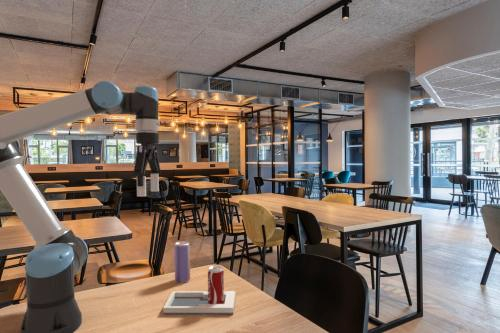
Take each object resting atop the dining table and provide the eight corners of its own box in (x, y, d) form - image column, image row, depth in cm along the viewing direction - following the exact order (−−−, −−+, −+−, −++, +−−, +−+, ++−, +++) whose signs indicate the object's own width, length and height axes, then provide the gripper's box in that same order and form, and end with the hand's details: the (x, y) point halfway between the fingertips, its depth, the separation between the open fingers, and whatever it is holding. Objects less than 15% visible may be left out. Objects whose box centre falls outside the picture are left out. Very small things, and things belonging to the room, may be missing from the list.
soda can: (221, 308, 102) (220, 271, 102) (206, 306, 103) (205, 270, 103) (225, 300, 107) (225, 266, 107) (211, 299, 108) (210, 264, 108)
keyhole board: (163, 314, 100) (163, 307, 100) (173, 297, 112) (172, 291, 112) (233, 314, 99) (233, 307, 99) (235, 297, 111) (235, 291, 111)
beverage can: (182, 284, 122) (182, 246, 122) (171, 281, 126) (171, 243, 125) (193, 279, 127) (192, 242, 127) (182, 276, 131) (182, 240, 130)
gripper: (145, 129, 97) (147, 198, 98) (168, 134, 122) (169, 189, 123) (121, 129, 97) (122, 198, 98) (148, 134, 122) (149, 189, 123)
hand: (148, 193), depth 110 cm, fingers open, 13 cm apart
